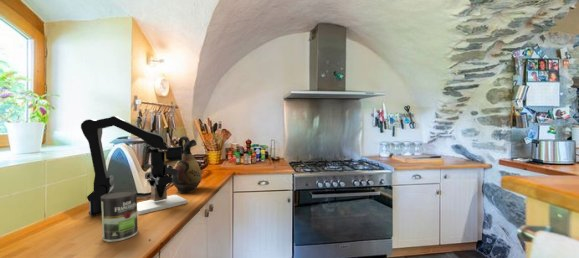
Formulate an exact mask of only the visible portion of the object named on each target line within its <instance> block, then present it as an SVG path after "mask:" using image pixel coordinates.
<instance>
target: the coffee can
mask: <svg viewBox="0 0 579 258" xmlns="http://www.w3.org/2000/svg"><path fill="white" fill-rule="evenodd" d="M137 195H138V191H135V190H131V189H130V190H128V189H127V190H117V191H113V192H111V191H110V192H109V193H107V194H105V195H102V196H101V207H102V214H101V225H102V226H101V228H102V229H101V230H102V233H101V234H102V237H101V238H102V241H103V242H106V243H114V242H116V243H117V242H121V241H125V240H128V239H130V238H132V237H135V236H136V235H137V234H138V233H139V228H138V227H139V226H138V213H137V203H138V202H137V200H138V199H137Z"/></svg>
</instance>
